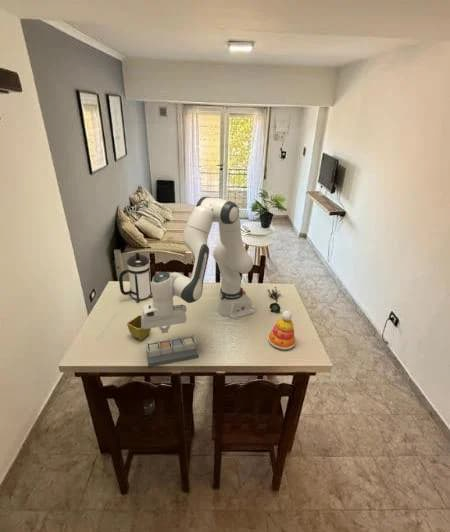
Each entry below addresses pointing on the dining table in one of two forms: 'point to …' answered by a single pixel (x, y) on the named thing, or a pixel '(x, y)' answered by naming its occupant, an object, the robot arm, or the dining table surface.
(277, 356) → the dining table surface
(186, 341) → the key ivory
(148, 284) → the coffee press
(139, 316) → the flower pot
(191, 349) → the keypad
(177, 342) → the key slate
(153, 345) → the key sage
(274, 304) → the artificial flower
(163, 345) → the key terracotta
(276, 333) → the stacking toy
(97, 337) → the butter knife
